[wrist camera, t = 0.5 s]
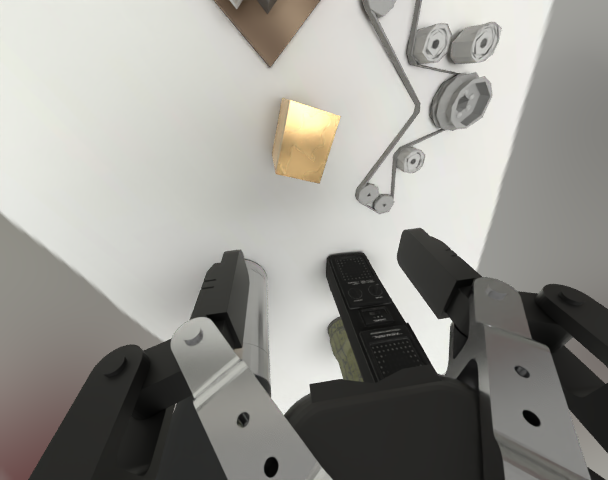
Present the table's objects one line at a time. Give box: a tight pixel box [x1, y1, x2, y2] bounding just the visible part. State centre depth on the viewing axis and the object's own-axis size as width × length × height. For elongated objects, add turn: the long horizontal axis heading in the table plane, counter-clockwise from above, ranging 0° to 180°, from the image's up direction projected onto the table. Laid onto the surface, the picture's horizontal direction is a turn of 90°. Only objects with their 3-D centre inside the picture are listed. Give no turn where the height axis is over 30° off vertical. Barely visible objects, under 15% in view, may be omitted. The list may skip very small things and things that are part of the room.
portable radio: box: [326, 253, 437, 383], centre depth 29 cm, size 8×6×25 cm
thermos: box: [328, 317, 363, 382], centre depth 36 cm, size 9×12×35 cm
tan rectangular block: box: [272, 98, 341, 183], centre depth 23 cm, size 6×4×8 cm
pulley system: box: [355, 0, 502, 214], centre depth 26 cm, size 27×5×15 cm
